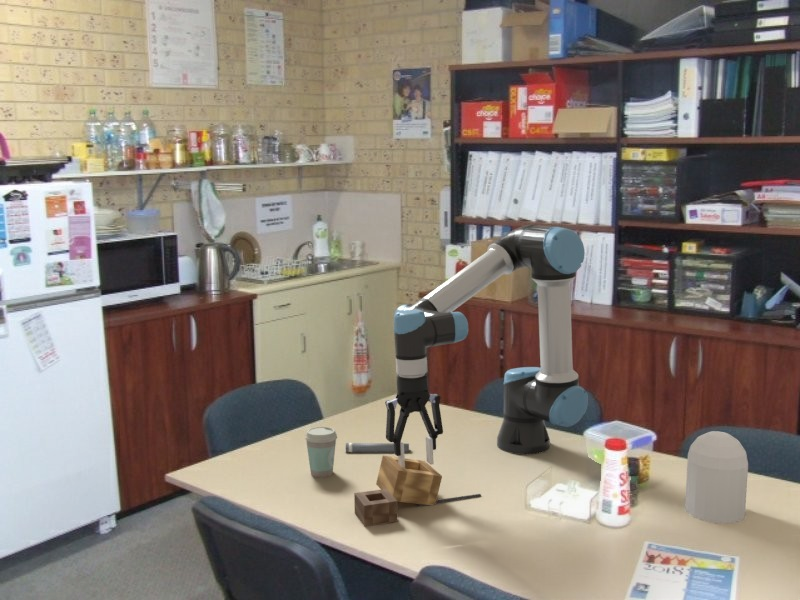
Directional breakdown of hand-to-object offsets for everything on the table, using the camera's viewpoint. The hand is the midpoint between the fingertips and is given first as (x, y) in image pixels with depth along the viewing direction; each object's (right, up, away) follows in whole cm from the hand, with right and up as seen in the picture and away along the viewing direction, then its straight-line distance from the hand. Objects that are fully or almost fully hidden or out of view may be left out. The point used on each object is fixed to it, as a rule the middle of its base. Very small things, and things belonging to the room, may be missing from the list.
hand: (415, 465), depth 212 cm
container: (+70, -10, -8) cm, 72 cm away
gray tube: (-1, -2, +35) cm, 35 cm away
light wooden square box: (-3, -8, +1) cm, 8 cm away
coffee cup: (-25, -6, +19) cm, 32 cm away
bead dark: (-10, -10, -9) cm, 17 cm away
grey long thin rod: (+8, -9, 0) cm, 12 cm away
